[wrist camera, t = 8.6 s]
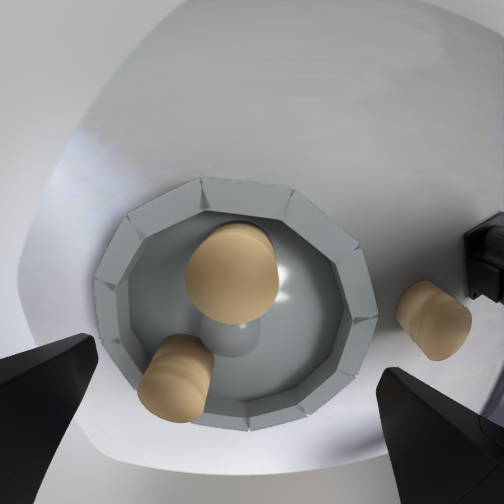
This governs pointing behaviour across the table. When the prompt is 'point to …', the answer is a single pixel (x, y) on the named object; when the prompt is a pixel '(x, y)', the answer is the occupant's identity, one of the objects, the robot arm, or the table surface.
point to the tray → (251, 333)
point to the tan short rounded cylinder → (177, 379)
